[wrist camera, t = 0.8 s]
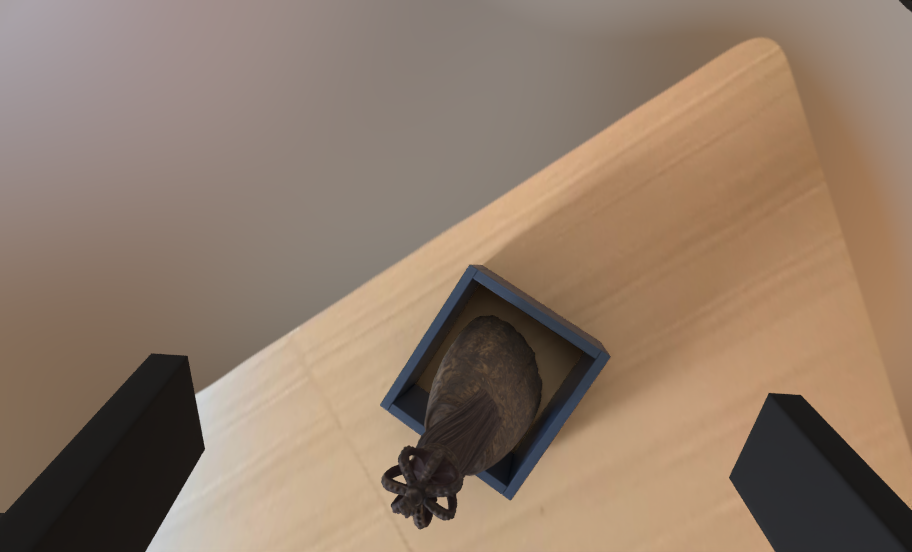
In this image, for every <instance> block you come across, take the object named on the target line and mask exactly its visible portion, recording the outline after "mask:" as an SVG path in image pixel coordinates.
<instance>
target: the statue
mask: <svg viewBox="0 0 912 552" xmlns="http://www.w3.org/2000/svg"><path fill="white" fill-rule="evenodd" d="M541 390H542V380H541V378H540V376H539V374H538V367H537V363H536V360H535V353H534V352H533V350H532V348H531V347H530V346H529V345H528V344H527V343H526V340H525V339H524V337H523V336H522V335H521V334H520V333H518V332H517V331H516V330H515V329H514V327H513V326H512V325H511V324H509V323H508V322H505V321H502V320H500V319H499V318H498V317H496V316H493V315H490V316H479V317H477V318H475V319H474V320H472V321H471V322H470V323H469V324H468V325H467V326H466V327H465V328H464V329H463V330H462V331H461V332H460V333H459V335H458V337H457V338H456V339H455V341H454V342H453V344H452V345H451V346H450V348H449V349H448V351H447V353H446V355H445V357H443V360H442V362H441V364H440V366H439V369H438V371H437V374H436V376H435V378H434V381H433V384H432V388H431V391H430V396H429V402H428V405H427V411H426V417H425V424H424V426H425V433H424V434H423V435H422V436H421V438H420V440H419V441H418V444H417V446H416V448H414V447H413V446H412V447H411V446H407V447H404V449H403V450H402V451H401V454H400V455H399V458H398V463H399V465H396V466H394V467H391V468H390V469H389V470H387V471H386V472H385V473H384V475H383V476H382V481H381V483H382V485H383V487H384V488H385V489H386V490H387V491H390V492H392V493H395V494H399V495H398V496H397V497H396V498H395V500H394V501H393V502H392V504H391V507H392V509H393V513H397V514H399V513H402V515H405V518H408V517H409V516H413V520H414V524H415V525H416V526H417V527H418V529H423V528H424V527H428V525H429V524H430V522H431V520H432V517H433V514H434V515H435V516H436V517H438V518H440V519H442V520H450V519H453V518H454V516H455V513H456V508H457V498H456V493H458V492H459V491H460V490H461V488H462V485H463V480H464V479H463V478H464V477H465V475H468V476H471V475H476V474H478V473H480V472H482V471H484V470H487V469H488V468H490V467H492V466H493V465H495V463H497V462H498V461H500V460H501V459H502V458H503V457H504V456H505V455H506V454H507V453H509V452H510V451H511V450H512V449H513V447H514V446H515V445H516V444H517V443H518V442H519V441H520V439H521V438H522V437H523V436H524V434H525V433H526V431H527V430H528V428H529V427H530V425H531V423H532V421H533V419H534V417H535V415H536V413H537V410H538V408H539V405H540V401H541ZM411 455H413V458H412V459H411V460H409V456H411ZM402 474H403V476H404V478H405V480H406V482H407V484H403V483H401V482H398V481H395V480H393V479H392V478H395V477H397V476H399V475H402ZM437 497H447V500H448V509H445V508H443V507H442V506H440V505H439V504H438V503H436V501H437Z"/></svg>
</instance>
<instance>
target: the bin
mask: <svg viewBox="0 0 912 552" xmlns="http://www.w3.org/2000/svg"><path fill="white" fill-rule="evenodd" d="M480 283H481V284H482V285H484V286H485V287H487V288H488V289H490V290H491V291H493V292H494V293H496V294H497V295H499V296H500V297H502V298H504V299H505V300H507V301H508V302H510V303H511V304H513V305H514V306H516V307H517V308H519V309H520V310H522V311H523V312H525V313H526V314H528V315H529V316H531V317H532V318H534V319H535V320H537V321H538V322H540V323H542V324H543V325H545V326H546V327H548V328H549V329H551V330H552V331H554V332H555V333H557V334H558V335H560V336H561V337H563V338H564V339H566V340H567V341H569V342H570V343H572V344H573V345H575V346H576V347H578V348H579V349H581V350H583V351H584V352H583V354H582V355H581V357H580V358H579V360H578V361H577V362H576V364H575V365H574V367H573V368H572V370H571V371H570V373H569V374H568V376H567V377H566V379H565V380H564V381H563V383H562V384H561V386H560V387H559V389H558V390H557V392H556V393H555V395H554V396H553V397H552V399H551V400H550V402H549V403H548V405H547V406H546V408H545V409H544V411H543V412H542V413H541V415H540V416H539V418H538V419H537V421H536V422H535V424H534V425H533V427H532V428H531V429H530V431H529V432H528V434H527V435H526V437H525V438H524V440H523V441H522V443H521V444H520V446H519V447H518V448H517V450H516V451H515V453H514V454H513V453H512V452H511V451H510V452H509V453H507V454H506V455H505V456H504V457H503V458H502V459H501V460H500V461H498V462H497V463H495V465H493V466H492V467H490V468H488V469H487V470H484V471H482V472H480V473H478V474H476V476H477V477H479V478H480V479H481V480H483V481H484V482H485V483H487V484H488V485H489V486H491V487H492V488H494V489H495V490H496V491H498V492H499V493H500V494H502V495H503V496H505V497H506V498H507V499H509V500H512V498H513V497H514V495H515V494H516V492H517V491H518V490H519V488H520V487H521V485H522V484H523V482H524V481H525V479H526V478H527V477H528V475H529V474H530V472H531V471H532V469H533V468H534V467H535V465H536V464H537V462H538V461H539V459H540V458H541V456H542V455H543V454H544V452H545V451H546V449H547V448H548V446H549V445H550V444H551V442H552V441H553V439H554V438H555V436H556V435H557V433H558V432H559V431H560V429H561V428H562V426H563V425H564V423H565V422H566V420H567V419H568V418H569V416H570V415H571V413H572V412H573V410H574V409H575V408H576V406H577V405H578V403H579V402H580V400H581V399H582V397H583V396H584V395H585V393H586V392H587V390H588V389H589V387H590V386H591V385H592V383H593V382H594V380H595V379H596V377H597V376H598V374H599V373H600V372H601V370H602V369H603V367H604V366H605V364H606V363H607V362H608V360H609V359H610V357H611V356H610V355H609V353H608V352H607V351H606V349H605V348H604V346H603V345H602V343H601V342H600V341H598V340H597V339H595V338H593V337H592V336H590V335H589V334H587V333H586V332H584V331H583V330H581V329H580V328H578V327H577V326H575V325H574V324H572V323H570V322H569V321H567V320H566V319H564V318H563V317H561V316H560V315H558V314H557V313H555V312H554V311H552V310H551V309H549V308H547V307H546V306H544V305H543V304H541V303H540V302H538V301H537V300H535V299H534V298H532V297H531V296H529V295H527V294H526V293H524V292H523V291H521V290H520V289H518V288H517V287H515V286H514V285H512V284H511V283H509V282H508V281H506V280H504V279H503V278H501V277H500V276H498V275H497V274H495V273H494V272H492V271H491V270H489V269H488V268H486V267H484V266H483V265H469V266H468V268H467V269H466V271H465V273H464V274H463V276H462V277H461V279H460V280H459V282H458V284H457V285H456V287H455V288H454V290H453V291H452V293H451V294H450V296H449V298H448V299H447V301H446V302H445V304H444V305H443V307H442V309H441V310H440V312H439V313H438V315H437V316H436V318H435V320H434V321H433V323H432V324H431V326H430V327H429V329H428V330H427V332H426V334H425V335H424V337H423V338H422V340H421V341H420V343H419V345H418V346H417V348H416V349H415V351H414V352H413V354H412V356H411V357H410V359H409V360H408V362H407V363H406V365H405V366H404V368H403V370H402V371H401V373H400V374H399V376H398V377H397V379H396V381H395V382H394V384H393V385H392V387H391V388H390V390H389V392H388V393H387V395H386V396H385V398H384V399H383V401H382V403H381V404H380V406H381V407H383V408H384V409H385V410H387V411H388V412H389V413H391V414H392V415H393V416H395V417H396V418H398V419H399V420H400V421H402V422H403V423H404V424H406V425H407V426H409V427H410V428H411V429H413V430H414V431H415V432H417V433H418V434H420V435H421V436H422V435H423V434H424V433H425V426H424V424H425V417H426V411H427V405H428V402H429V396H430V394H429V393H428V392H427V391H425V390H424V389H422V388H421V387H420V386H418V385H417V384H416V382H417V380H418V379H419V377H420V376H421V374H422V373H423V371H424V370H425V368H426V367H427V365H428V363H429V362H430V360H431V359H432V357H433V356H434V354H435V353H436V351H437V349H438V348H439V346H440V345H441V343H442V342H443V340H444V339H445V337H446V335H447V334H448V332H449V331H450V329H451V328H452V326H453V325H454V323H455V322H456V320H457V318H458V317H459V315H460V314H461V312H462V311H463V309H464V308H465V306H466V304H467V303H468V301H469V300H470V298H471V297H472V295H473V294H474V292H475V291H476V289H477V287H478V286H479V284H480Z"/></svg>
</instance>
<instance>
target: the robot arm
mask: <svg viewBox="0 0 912 552" xmlns="http://www.w3.org/2000/svg"><path fill="white" fill-rule="evenodd" d="M204 450H205V446H204V441H203V436H202V430H201V425H200V420H199V414H198V409H197V404H196V398H195V393H194V388H193V383H192V377H191V372H190V366H189V362H188V356H181V355H165V354H151V355H150V356H149V357H148V358H147V359H146V360H145V361H144V362H143V363H142V364H141V366H140V367H139V368H138V369H137V370H136V371H135V372H134V373H133V374H132V375H131V376H130V377H129V378H128V380H127V381H126V382H125V383H124V384H123V385H122V386H121V387H120V388H119V389H118V391H117V392H116V393H115V394H114V395H113V396H112V397H111V398H110V399H109V400H108V402H106V403H105V405H104V406H103V407H102V408H101V409H100V410H99V411H98V412H97V413H96V414H95V415H94V417H93V418H92V419H91V420H90V421H89V422H88V423H87V424H86V425H85V426H84V427H83V429H82V430H81V431H80V432H79V433H78V434H77V435H76V436H75V437H74V439H72V441H71V442H70V443H69V444H68V445H67V446H66V447H65V448H64V449H63V450H62V451H61V452H60V454H59V455H58V456H57V457H56V458H55V459H54V460H53V461H52V462H51V463H50V464H49V465H48V467H47V468H46V469H45V470H44V471H43V472H42V473H41V474H40V476H38V477H37V479H36V480H35V481H34V482H33V483H32V484H31V485H30V486H29V487H28V488H27V489H26V491H25V492H24V493H23V494H22V495H21V496H20V497H19V498H18V499H17V500H16V501H15V503H14V504H13V505H12V506H11V507H10V508H9V509H8V510H7V511H6V512H5V513H0V552H145V551H146V550H147V548H148V546H149V544H150V543H151V541H152V539H153V538H154V536H155V534H156V532H157V531H158V529H159V527H160V526H161V524H162V522H163V520H164V519H165V517H166V515H167V513H168V512H169V510H170V508H171V507H172V505H173V503H174V501H175V500H176V498H177V496H178V495H179V493H180V491H181V489H182V488H183V486H184V484H185V483H186V481H187V479H188V477H189V476H190V474H191V472H192V471H193V469H194V467H195V465H196V464H197V462H198V460H199V458H200V457H201V455H202V453H203V452H204ZM729 478H730V480H731V482H732V483H733V485H734V486H735V488H736V490H737V491H738V493H739V494H740V496H741V498H742V499H743V501H744V502H745V504H746V506H747V507H748V509H749V510H750V512H751V514H752V515H753V517H754V518H755V520H756V522H757V523H758V525H759V526H760V528H761V530H762V531H763V533H764V534H765V536H766V538H767V539H768V541H769V542H770V544H771V546H772V547H773V549H774V550H775V552H912V510H911V509H910V508H909V507H908V506H907V505H906V504H905V503H904V502H903V501H902V500H901V499H900V498H899V497H898V496H897V494H896V493H895V492H894V491H893V490H892V489H891V488H890V487H889V486H888V485H887V484H886V483H885V482H884V481H883V480H882V479H881V478H880V477H879V476H878V475H877V474H876V473H875V472H874V471H873V470H872V469H871V467H870V466H869V465H868V464H867V463H866V462H865V461H864V460H863V459H862V458H861V457H860V456H859V455H858V454H857V453H856V452H855V451H854V450H853V449H852V448H851V447H850V446H849V445H848V444H847V443H846V441H845V440H844V439H843V438H842V437H841V436H840V435H839V434H838V433H837V432H836V431H835V430H834V429H833V428H832V427H831V426H830V425H829V424H828V423H827V422H826V421H825V420H824V419H823V418H822V417H821V416H820V414H819V413H818V412H817V411H816V410H815V409H814V408H813V407H812V406H811V405H810V404H809V403H808V402H807V401H806V400H805V399H804V398H803V397H802V396H801V395H792V394H776V393H769V394H768V396H767V398H766V400H765V403H764V405H763V407H762V409H761V411H760V413H759V415H758V417H757V419H756V422H755V424H754V426H753V428H752V430H751V432H750V434H749V436H748V439H747V441H746V443H745V445H744V447H743V449H742V451H741V453H740V455H739V458H738V460H737V462H736V464H735V466H734V468H733V470H732V472H731V475H730V477H729Z"/></svg>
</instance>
